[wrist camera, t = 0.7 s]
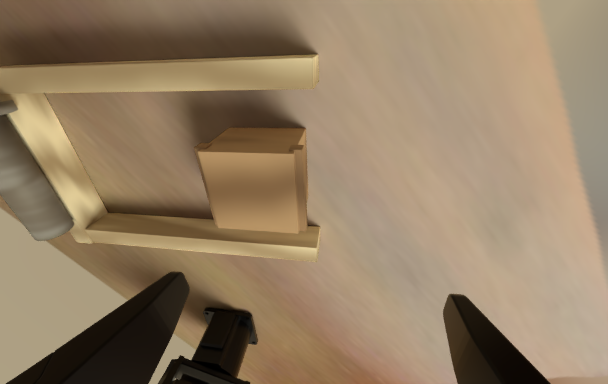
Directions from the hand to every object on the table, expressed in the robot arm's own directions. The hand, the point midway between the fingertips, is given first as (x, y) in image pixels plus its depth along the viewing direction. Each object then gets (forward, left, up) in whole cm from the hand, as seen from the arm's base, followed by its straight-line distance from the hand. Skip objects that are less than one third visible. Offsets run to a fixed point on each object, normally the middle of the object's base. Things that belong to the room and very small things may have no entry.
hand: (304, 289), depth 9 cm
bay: (-2, +13, -13) cm, 18 cm away
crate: (-2, +5, -13) cm, 14 cm away
